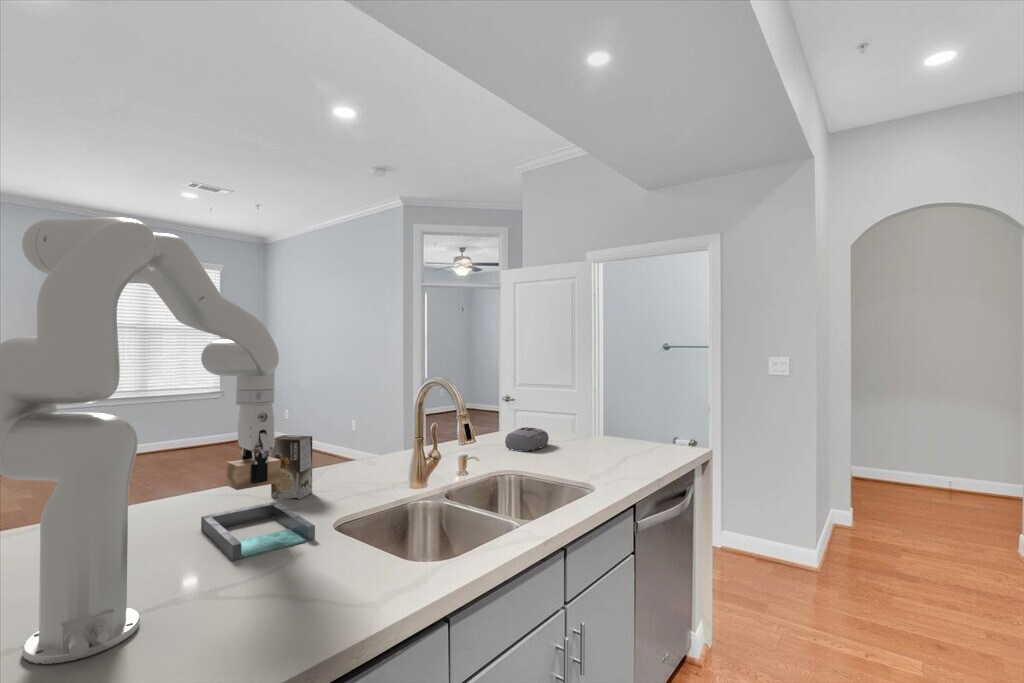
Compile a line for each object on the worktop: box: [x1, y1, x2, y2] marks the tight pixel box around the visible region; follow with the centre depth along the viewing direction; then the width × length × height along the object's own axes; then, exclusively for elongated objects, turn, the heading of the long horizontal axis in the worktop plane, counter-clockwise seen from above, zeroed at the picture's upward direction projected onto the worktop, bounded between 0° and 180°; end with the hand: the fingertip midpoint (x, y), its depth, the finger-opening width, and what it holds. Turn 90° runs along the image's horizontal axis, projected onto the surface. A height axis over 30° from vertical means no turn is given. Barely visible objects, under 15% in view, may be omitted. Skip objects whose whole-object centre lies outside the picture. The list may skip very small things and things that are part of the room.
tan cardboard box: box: [225, 455, 281, 491], centre depth 113 cm, size 6×9×5 cm, turn 138°
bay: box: [200, 501, 316, 562], centre depth 112 cm, size 23×16×3 cm
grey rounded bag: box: [504, 426, 550, 452], centre depth 211 cm, size 15×8×20 cm
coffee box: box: [270, 434, 313, 500], centre depth 142 cm, size 9×6×16 cm
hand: (253, 478), depth 113 cm, fingers closed on tan cardboard box, 6 cm apart
